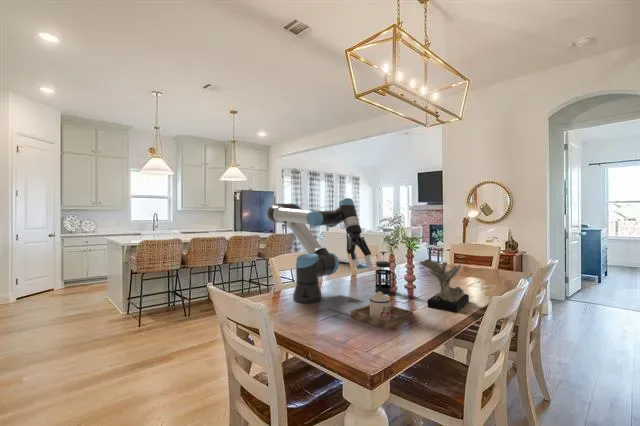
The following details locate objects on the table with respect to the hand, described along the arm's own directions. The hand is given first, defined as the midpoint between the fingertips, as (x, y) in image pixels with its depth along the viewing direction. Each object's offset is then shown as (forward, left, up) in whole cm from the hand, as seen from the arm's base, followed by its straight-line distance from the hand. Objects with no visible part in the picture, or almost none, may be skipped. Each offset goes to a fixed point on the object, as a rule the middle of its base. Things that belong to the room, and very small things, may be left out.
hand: (363, 267), depth 156 cm
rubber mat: (-2, -7, -19) cm, 21 cm away
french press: (-11, +31, -20) cm, 38 cm away
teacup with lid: (+16, -6, -20) cm, 26 cm away
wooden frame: (+16, -6, -19) cm, 26 cm away
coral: (+23, +33, -20) cm, 44 cm away
